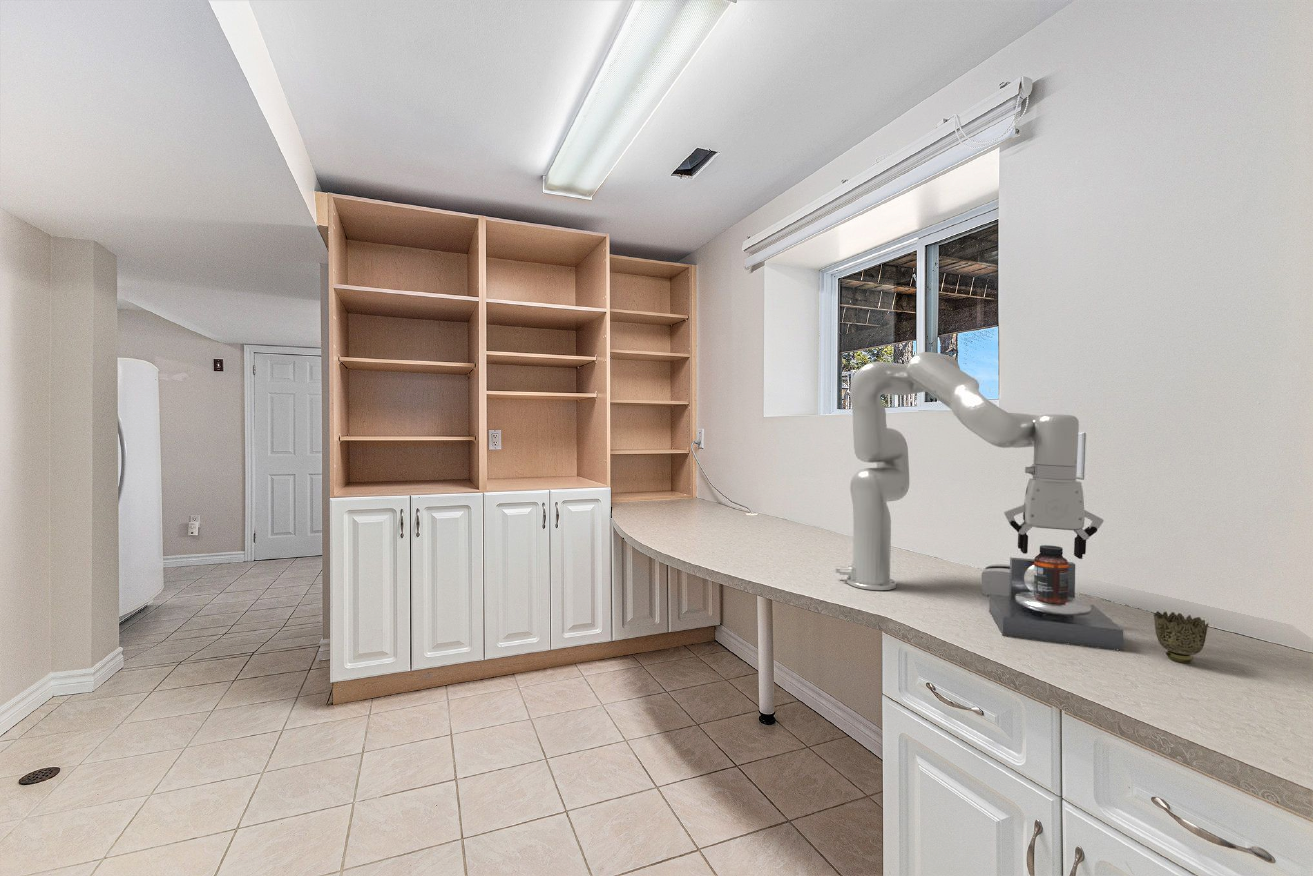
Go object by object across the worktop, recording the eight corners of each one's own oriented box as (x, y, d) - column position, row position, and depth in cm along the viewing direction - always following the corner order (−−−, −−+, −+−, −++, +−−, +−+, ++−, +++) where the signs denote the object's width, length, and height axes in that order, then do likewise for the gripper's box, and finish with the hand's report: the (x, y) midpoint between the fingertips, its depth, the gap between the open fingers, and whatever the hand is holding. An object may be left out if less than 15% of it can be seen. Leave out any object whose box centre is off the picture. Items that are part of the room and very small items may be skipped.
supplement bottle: (1070, 600, 121) (1071, 546, 120) (1065, 606, 116) (1066, 551, 116) (1036, 594, 125) (1037, 542, 124) (1030, 600, 120) (1031, 546, 120)
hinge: (1063, 607, 137) (1058, 570, 135) (1055, 617, 135) (1050, 579, 132) (989, 590, 151) (984, 556, 149) (981, 599, 148) (975, 565, 146)
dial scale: (1002, 635, 118) (1004, 572, 117) (989, 611, 133) (990, 555, 133) (1122, 650, 110) (1124, 583, 110) (1093, 623, 126) (1094, 564, 126)
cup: (1212, 672, 101) (1213, 627, 101) (1157, 662, 105) (1158, 619, 104) (1200, 658, 107) (1201, 615, 107) (1149, 649, 111) (1150, 608, 111)
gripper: (1010, 472, 120) (1006, 554, 120) (1111, 477, 113) (1107, 563, 114) (1003, 470, 127) (999, 547, 127) (1098, 474, 120) (1094, 555, 121)
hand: (1050, 554), depth 120 cm, fingers open, 9 cm apart
